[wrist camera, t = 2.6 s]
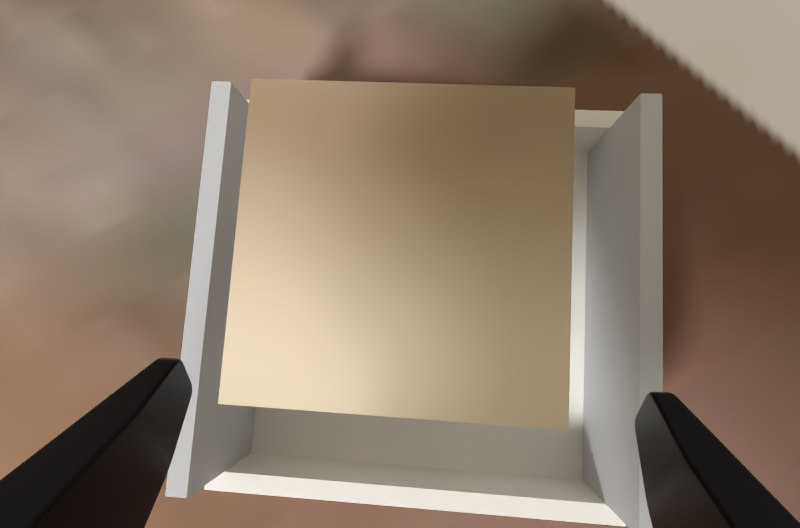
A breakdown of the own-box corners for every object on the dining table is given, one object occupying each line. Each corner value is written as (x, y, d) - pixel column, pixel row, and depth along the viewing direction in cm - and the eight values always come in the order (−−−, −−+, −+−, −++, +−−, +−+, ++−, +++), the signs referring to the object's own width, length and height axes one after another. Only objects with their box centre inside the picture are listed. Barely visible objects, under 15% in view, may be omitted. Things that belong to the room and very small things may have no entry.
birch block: (473, 357, 18) (569, 430, 6) (365, 350, 19) (217, 404, 6) (477, 250, 19) (575, 87, 6) (372, 245, 19) (251, 79, 6)
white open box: (594, 493, 18) (663, 565, 13) (239, 464, 19) (162, 519, 14) (598, 143, 20) (662, 74, 14) (271, 132, 21) (214, 62, 15)
